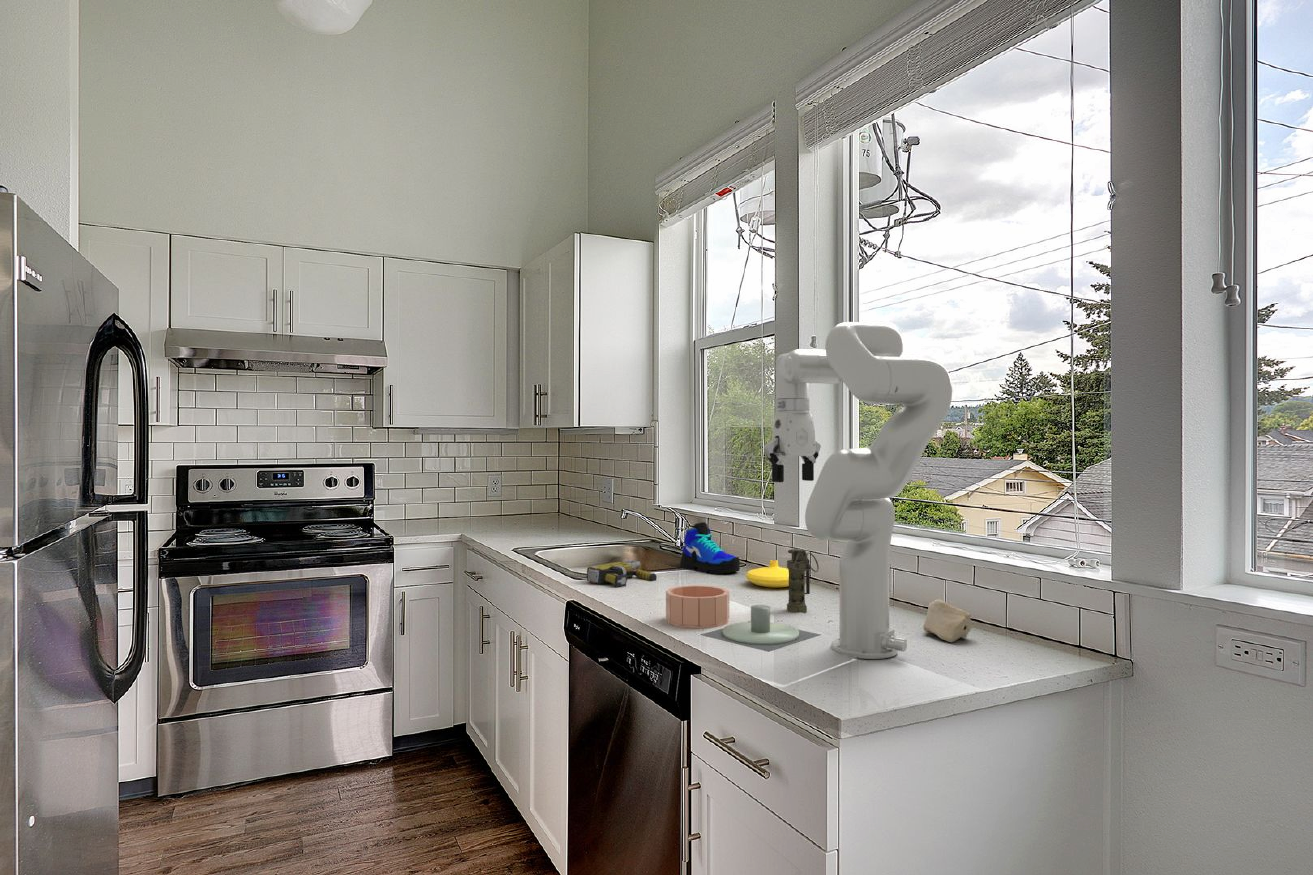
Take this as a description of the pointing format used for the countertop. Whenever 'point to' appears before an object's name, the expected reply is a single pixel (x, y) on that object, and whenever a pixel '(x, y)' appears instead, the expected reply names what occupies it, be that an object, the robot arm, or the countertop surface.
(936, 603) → the decorative stone
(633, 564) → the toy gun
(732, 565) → the sneaker
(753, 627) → the lid
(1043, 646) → the countertop surface
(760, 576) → the vase
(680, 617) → the bowl
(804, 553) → the grenade
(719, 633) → the mat
